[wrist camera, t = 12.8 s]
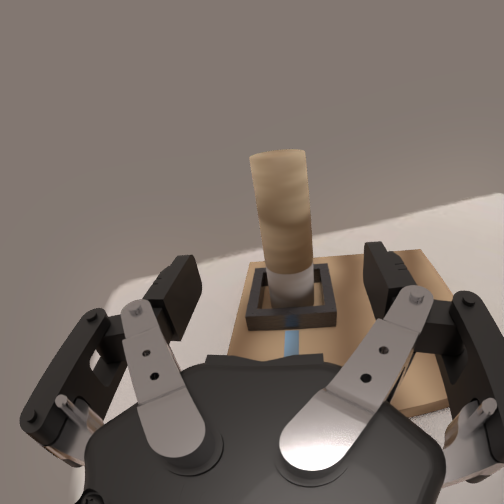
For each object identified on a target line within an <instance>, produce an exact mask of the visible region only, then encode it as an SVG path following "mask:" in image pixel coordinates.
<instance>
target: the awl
mask: <svg viewBox="0 0 504 504" xmlns="http://www.w3.org/2000/svg"><path fill="white" fill-rule="evenodd" d="M250 165H251V171H252V177H253V184H254V190H255V197H256V204H257V210H258V217H259V224H260V230H261V237H262V244H263V251H264V258H265V265H266V272H267V279H268V286H269V293H270V300H271V306H272V308H290V307H306V306H313V305H314V271H313V248H312V230H311V214H310V202H309V188H308V177H307V166H306V157H305V151H303V150H297V149H288V150H287V149H286V150H275V151H268V152H262V153H258V154H255V155H252V156H250Z"/></svg>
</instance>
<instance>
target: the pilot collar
mask: <svg viewBox="0 0 504 504" xmlns="http://www.w3.org/2000/svg"><path fill="white" fill-rule="evenodd" d="M313 271H314V283H320V287H321V294H322V302H323V305H320V306H306V307H290V308H271V309H262V305H263V298H264V291H265V286H268V279H267V272H266V268H255V272H254V276H253V281H252V286H251V291H250V295H249V300H248V305H247V310H246V314H245V319H246V323H247V327H248V331H270V330H293V329H310V328H324V327H336V322H337V308H336V303H335V297H334V292H333V287H332V282H331V277H330V272H329V268H328V263H322V264H313Z"/></svg>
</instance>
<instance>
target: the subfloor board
mask: <svg viewBox="0 0 504 504" xmlns="http://www.w3.org/2000/svg"><path fill="white" fill-rule="evenodd" d="M393 252H394V253H396V254H397V255H399V256H400V257H401V259H402V260H403V262H404V264H405V265H406V267H407V270H409V272H410V274H411V275H412V277H413V279H414V280H415V282H416V284H417V285H418V286H422V287H424V288H426V289H428V290H429V291H430V292H431V293H432V295H433V297H434V299H436V300H443V301H452V299H453V294H452V293H451V291H450V290H449V288H448V287H447V285H446V284H445V282H444V281H443V279H442V278H441V277H440V275H439V274H438V272H437V271H436V270H435V268H434V267H433V265H432V264H431V263H430V261H429V260H428V259H427V257H426V256H425V255H424V253H423V252H422V251H421V249H417V250H405V251H393ZM363 262H364V254H356V255H344V256H331V257H317V258H313V264H322V263H328V268H329V272H330V277H331V282H332V287H333V292H334V297H335V303H336V308H337V322H336V327H324V328H310V329H293V330H270V331H248V327H247V323H246V319H245V314H246V310H247V305H248V300H249V295H250V291H251V286H252V281H253V276H254V272H255V268H266V265H265V261H262V262H250V264H249V268H248V272H247V276H246V280H245V284H244V289H243V293H242V297H241V301H240V305H239V309H238V313H237V317H236V321H235V325H234V329H233V333H232V337H231V341H230V345H229V349H228V353H227V355H234V356H239V357H243V358H248V359H252V360H257V361H268V360H273V359H278V358H282V357H286V356H291V355H300V354H318V353H323V357H324V362H329V363H333V364H337V365H340V366H342V367H343V366H344V365H345V363H346V362H347V361H348V359H349V358H350V357H351V355H352V354H353V353H354V351H355V350H356V349H357V347H358V346H359V344H360V343H361V342H362V340H363V339H364V337H365V336H366V335H367V333H368V332H369V330H370V329H371V327H372V326H373V324H374V323H375V321H376V320H375V317H374V314H373V311H372V308H371V305H370V301H369V298H368V295H367V292H366V290H365V287H364V283H363ZM320 305H323V302H322V294H321V287H320V283H314V305H313V306H320ZM271 308H272V306H271V300H270V293H269V286H265V291H264V298H263V305H262V309H271ZM391 405H393V406H394V407H395V408H396V409H397V410H399V411H400V412H401V413H402V414H404V415H405V416H406V417H407V418H409V417H414V416H418V415H422V414H426V413H430V412H433V411H437V410H440V409H444V408H447V407H449V402H448V398H447V395H446V391H445V387H444V383H443V380H442V376H441V373H440V370H439V367H438V363H437V360H436V357H435V354H429V353H420V352H417V353H416V355H415V357H414V359H413V361H412V363H411V365H410V367H409V369H408V371H407V373H406V375H405V377H404V379H403V381H402V383H401V385H400V387H399V389H398V391H397V393H396V395H395V397H394V399H393V400H392V402H391Z"/></svg>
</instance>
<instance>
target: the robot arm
mask: <svg viewBox="0 0 504 504" xmlns="http://www.w3.org/2000/svg"><path fill="white" fill-rule="evenodd" d="M363 283H364V287H365V290H366V292H367V295H368V298H369V301H370V305H371V308H372V311H373V314H374V317H375V320H376V321H375V323H374V324H373V326H372V327H371V329H370V330H369V332H368V333H367V335H366V336H365V337H364V339H363V340H362V342H361V343H360V344H359V346H358V347H357V349H356V350H355V351H354V353H353V354H352V355H351V357H350V358H349V359H348V361H347V362H346V363H345V365H344V366H343V367H342V366H340V365H337V364H333V363H329V362H324V357H323V353H318V354H300V355H291V356H286V357H282V358H278V359H273V360H268V361H257V360H252V359H248V358H243V357H239V356H234V355H207V358H206V361H205V363H202V364H198V365H194V366H192V367H189V368H187V369H185V370H183V371H181V369H180V367H179V365H178V363H177V361H176V358H175V356H174V354H173V352H172V350H171V348H170V346H169V343H170V341H181V339H182V337H183V335H184V332H185V330H186V328H187V325H188V323H189V321H190V319H191V316H192V314H193V312H194V309H195V307H196V305H197V303H198V300H199V298H200V296H201V293H202V282H201V278H200V275H199V271H198V268H197V264H196V261H195V258H194V256H193V255H182V256H177V257H176V258H175V260H174V261H173V262H172V264H171V265H170V266H168V267H167V268H165V269H164V270H163V271H162V272H160V274H159V275H158V277H157V278H156V280H155V281H154V282H153V285H151V287H150V288H149V290H148V291H147V293H146V294H145V296H144V297H143V299H140V300H135V301H133V302H130V303H129V304H127V305H126V306H125V307H124V308H123V309H122V311H121V314H120V315H115V316H111V317H108V316H107V314H106V312H105V310H104V309H102V308H96V309H93V310H90V311H88V312H87V313H86V314H85V315H83V316H82V318H81V319H80V321H79V322H78V323H77V325H76V326H75V328H74V329H73V330H72V332H71V333H70V335H69V336H68V338H67V339H66V341H65V342H64V343H63V345H62V346H61V348H60V349H59V351H58V352H57V354H56V355H55V357H54V359H53V360H52V362H51V363H50V365H49V367H48V368H47V370H46V371H45V373H44V374H43V376H42V378H41V379H40V381H39V383H38V384H37V386H36V388H35V389H34V391H33V393H32V395H31V397H30V398H29V400H28V402H27V404H26V406H25V407H24V409H23V411H22V413H21V416H20V426H21V428H22V430H23V431H25V432H26V433H27V434H28V435H29V436H30V437H32V438H33V439H34V440H35V441H36V442H37V443H38V444H39V445H40V446H42V447H43V448H44V449H46V450H47V451H48V452H50V453H51V454H53V455H54V456H55V457H57V458H59V459H61V460H63V461H64V462H66V463H67V464H69V465H70V466H72V467H81V466H85V485H84V491H83V494H82V496H81V497H80V499H79V500H78V501H77V502H76V503H75V504H436V501H437V498H438V495H439V493H440V490H441V489H442V488H445V487H448V486H451V485H454V484H457V483H460V482H463V481H467V482H469V483H478V482H481V481H482V480H484V479H486V478H487V477H489V476H490V475H492V474H494V473H495V472H497V471H498V470H500V469H501V468H503V467H504V337H503V336H502V334H501V332H500V330H499V328H498V326H497V325H496V323H495V321H494V319H493V318H492V316H491V314H490V313H489V311H488V309H487V308H486V306H485V304H484V303H483V301H482V300H481V298H480V297H479V296H478V295H476V294H475V293H472V292H470V291H459V292H456V293H455V294H454V296H453V299H452V301H443V300H436V299H434V297H433V295H432V293H431V292H430V291H429V290H428V289H426V288H424V287H422V286H418V285H417V284H416V282H415V280H414V279H413V277H412V275H411V274H410V272H409V270H407V267H406V265H405V264H404V262H403V260H402V259H401V257H400V256H399V255H397V254H396V253H394V252H393V251H389V252H387V250H386V248H385V247H384V245H383V243H382V242H381V241H379V242H366V243H365V246H364V262H363ZM95 349H96V350H97V352H98V353H99V355H100V356H101V357H100V359H99V360H98V362H97V364H96V366H95V368H94V370H93V371H92V370H91V368H90V358H91V356H92V355H93V353H94V351H95ZM417 352H420V353H429V354H435V357H436V360H437V363H438V367H439V370H440V373H441V376H442V380H443V383H444V387H445V391H446V395H447V398H448V402H449V407H450V411H451V415H452V420H453V421H452V422H451V423H450V424H449V425H448V427H447V429H446V431H445V443H444V447H443V450H442V449H441V447H440V445H439V444H438V443H437V442H436V441H435V440H434V439H433V438H432V437H431V436H429V435H428V434H427V433H426V432H424V431H423V430H422V429H421V428H420V427H418V426H417V425H416V424H415V423H413V422H412V421H411V420H410V419H408V418H407V417H406V416H405V415H404V414H402V413H401V412H400V411H399V410H397V409H396V408H395V407H394V406H393V405H391V402H392V400H393V399H394V397H395V395H396V393H397V391H398V389H399V387H400V385H401V383H402V381H403V379H404V377H405V375H406V373H407V371H408V369H409V367H410V365H411V363H412V361H413V359H414V357H415V355H416V353H417ZM127 366H128V368H129V372H130V376H131V380H132V384H133V387H134V391H135V394H136V397H137V401H138V402H137V403H136V404H134V405H133V406H131V407H130V408H128V409H127V410H125V411H124V412H122V413H121V414H120V415H118V416H117V417H115V418H114V419H112V420H110V421H109V422H107V423H106V424H104V423H103V421H104V418H105V416H106V413H107V411H108V409H109V406H110V404H111V402H112V399H113V397H114V395H115V392H116V390H117V388H118V385H119V383H120V381H121V379H122V377H123V374H124V372H125V370H126V368H127Z"/></svg>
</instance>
